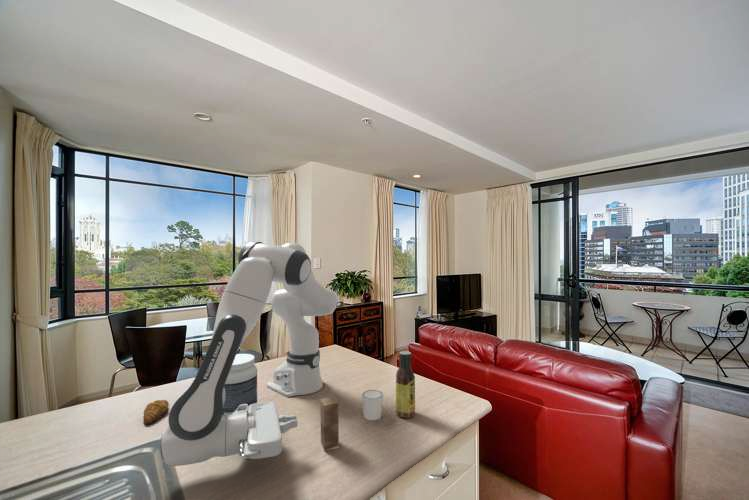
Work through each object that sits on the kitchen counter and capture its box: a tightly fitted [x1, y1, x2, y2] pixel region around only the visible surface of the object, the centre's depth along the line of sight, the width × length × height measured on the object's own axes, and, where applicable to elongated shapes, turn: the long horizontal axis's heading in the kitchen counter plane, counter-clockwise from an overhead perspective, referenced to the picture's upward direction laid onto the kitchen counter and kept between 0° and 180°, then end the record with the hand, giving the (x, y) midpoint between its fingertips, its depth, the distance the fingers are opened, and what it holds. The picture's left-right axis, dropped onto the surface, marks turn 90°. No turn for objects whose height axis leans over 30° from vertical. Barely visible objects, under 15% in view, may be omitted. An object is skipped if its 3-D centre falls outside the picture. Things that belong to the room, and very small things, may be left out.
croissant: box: [142, 399, 170, 426], centre depth 101 cm, size 14×7×5 cm, turn 16°
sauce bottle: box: [395, 350, 416, 419], centre depth 101 cm, size 6×6×20 cm
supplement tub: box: [222, 353, 258, 416], centre depth 100 cm, size 13×13×18 cm
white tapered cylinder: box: [361, 389, 384, 421], centre depth 100 cm, size 7×7×7 cm
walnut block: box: [320, 396, 340, 452], centre depth 85 cm, size 4×4×12 cm
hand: (296, 420), depth 81 cm, fingers closed
